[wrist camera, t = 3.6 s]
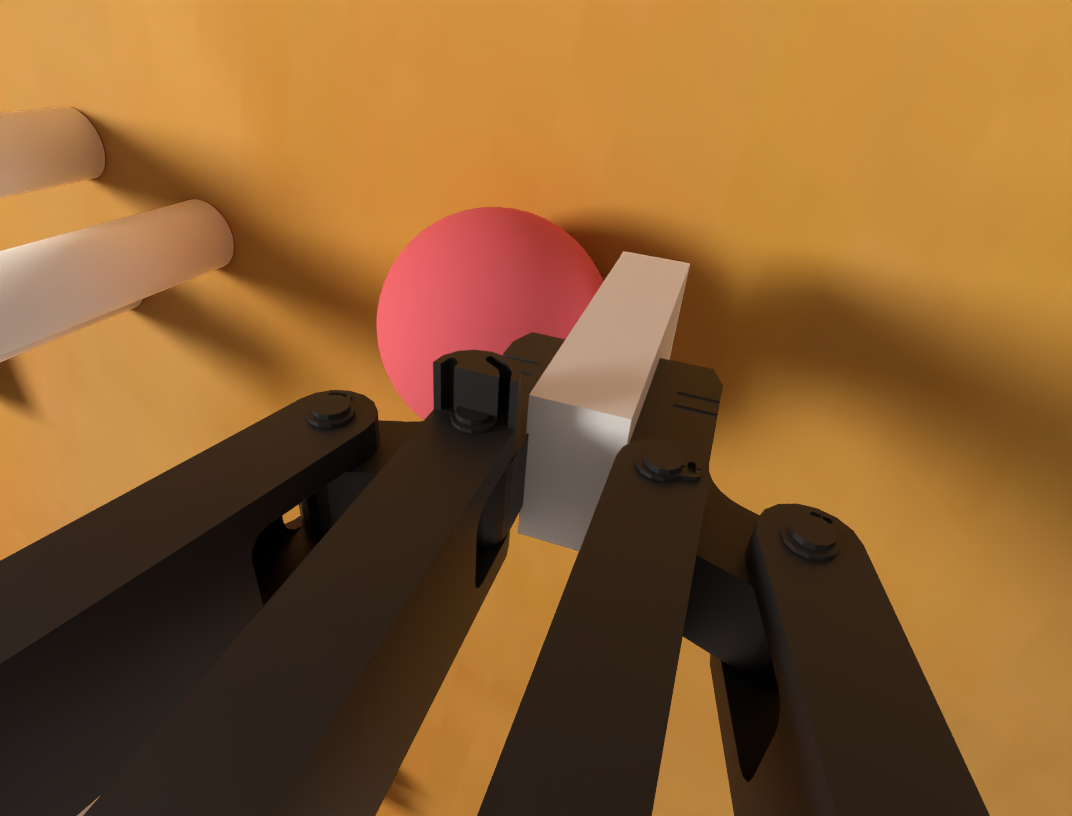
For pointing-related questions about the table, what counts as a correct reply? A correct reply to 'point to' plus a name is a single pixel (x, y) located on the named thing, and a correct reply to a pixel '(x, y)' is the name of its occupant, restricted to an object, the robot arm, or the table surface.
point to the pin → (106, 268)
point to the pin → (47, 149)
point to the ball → (478, 292)
